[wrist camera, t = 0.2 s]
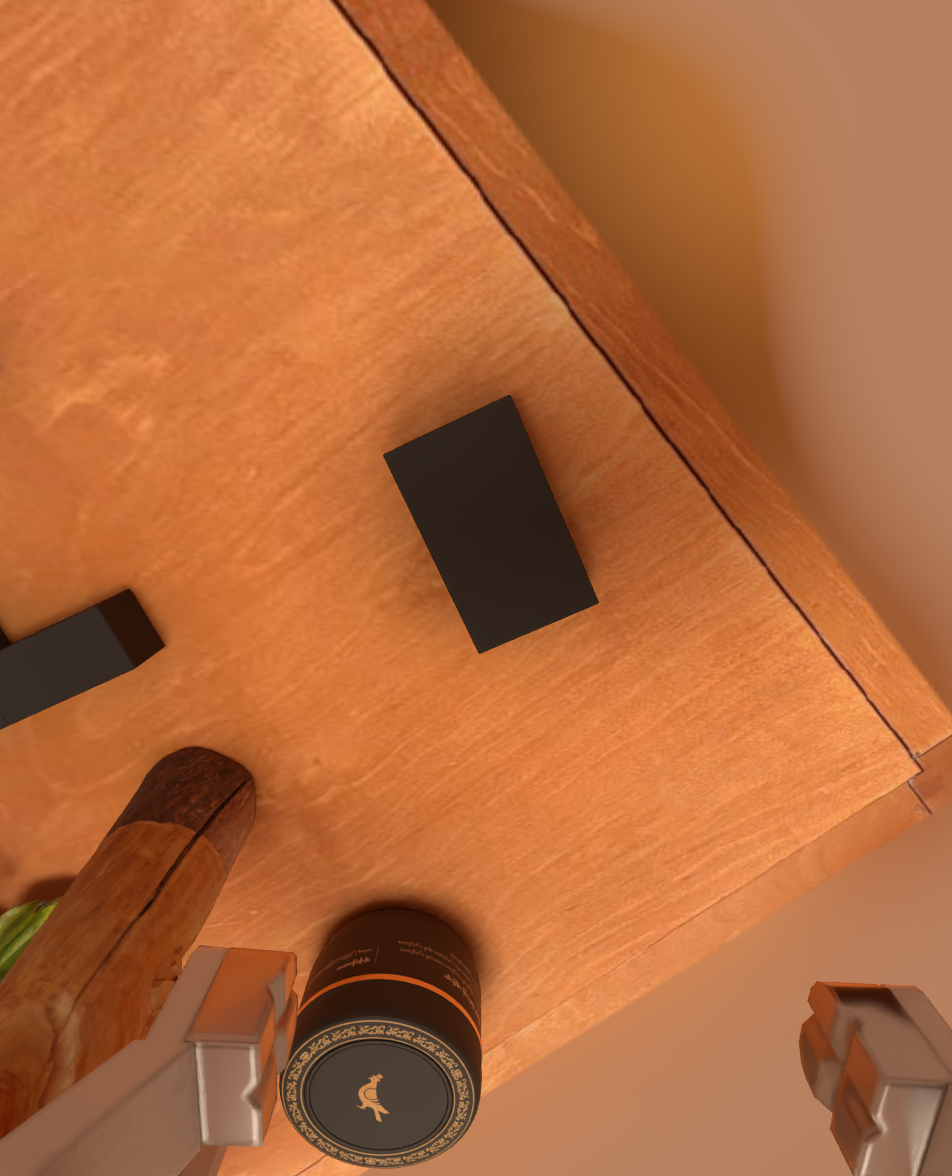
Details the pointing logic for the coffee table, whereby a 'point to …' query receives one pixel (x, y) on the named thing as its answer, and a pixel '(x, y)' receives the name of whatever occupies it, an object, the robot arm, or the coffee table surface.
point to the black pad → (492, 525)
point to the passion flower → (21, 929)
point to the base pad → (73, 656)
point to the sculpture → (121, 930)
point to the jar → (387, 1043)
